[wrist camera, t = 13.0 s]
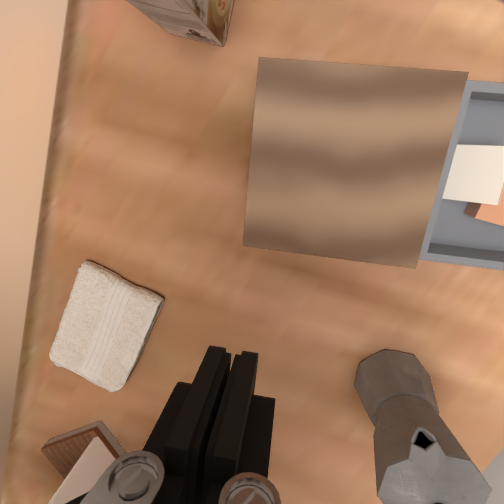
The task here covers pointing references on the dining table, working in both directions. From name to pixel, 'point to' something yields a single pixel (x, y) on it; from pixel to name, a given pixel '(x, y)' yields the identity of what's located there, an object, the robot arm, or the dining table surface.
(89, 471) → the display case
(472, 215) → the tile
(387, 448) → the coffeepot
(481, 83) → the box
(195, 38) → the coffee box
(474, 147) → the tile
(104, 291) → the washcloth
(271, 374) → the dining table surface
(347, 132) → the block
